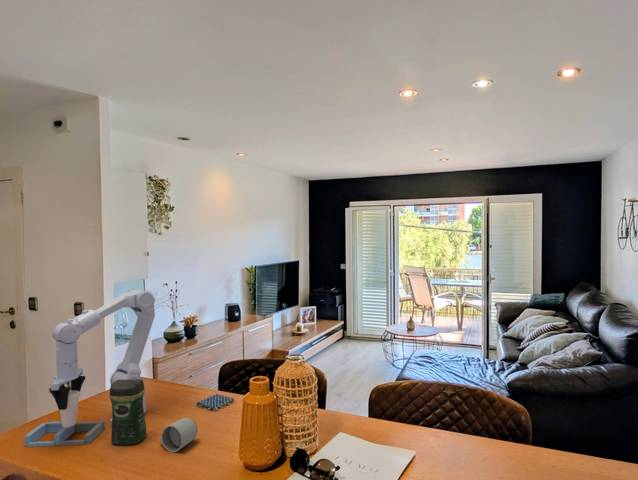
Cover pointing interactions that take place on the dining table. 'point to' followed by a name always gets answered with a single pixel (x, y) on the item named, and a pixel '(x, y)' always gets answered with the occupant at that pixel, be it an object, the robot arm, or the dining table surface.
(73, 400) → the smoothie
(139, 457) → the dining table surface
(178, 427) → the grey hollow cylinder
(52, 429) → the frame
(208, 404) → the woven mat
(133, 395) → the coffee jar
